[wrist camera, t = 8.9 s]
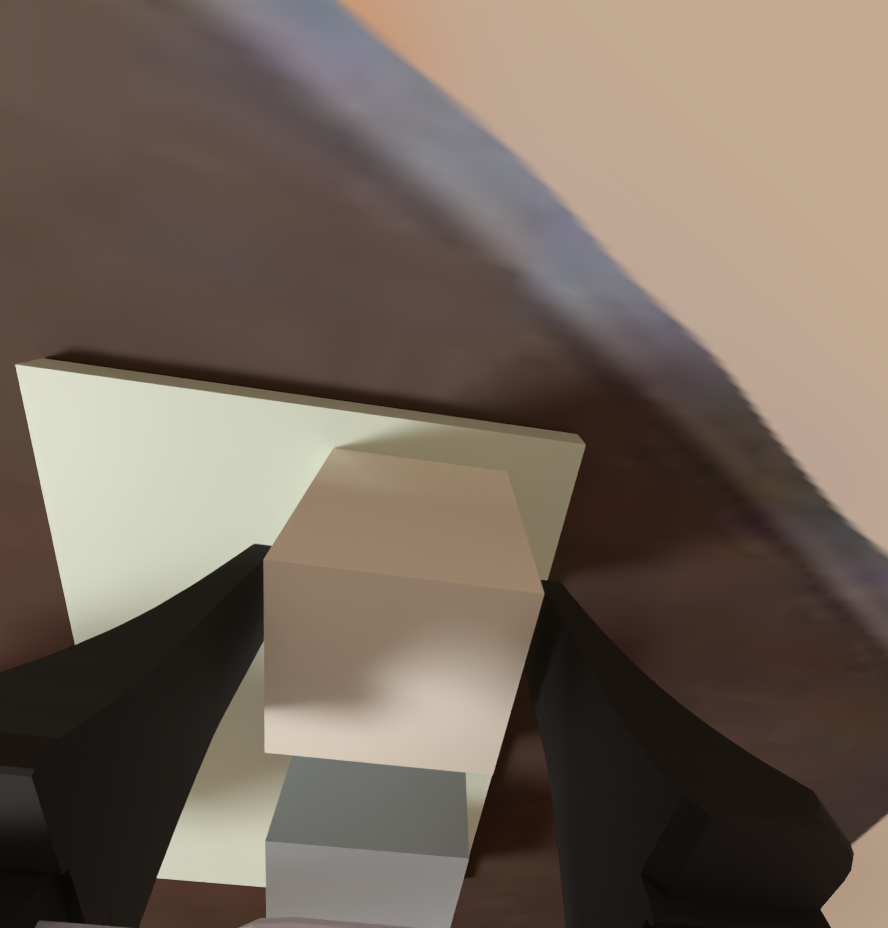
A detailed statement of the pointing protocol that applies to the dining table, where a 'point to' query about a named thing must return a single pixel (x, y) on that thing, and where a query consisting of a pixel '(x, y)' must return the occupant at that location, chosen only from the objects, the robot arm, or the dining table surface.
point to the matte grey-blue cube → (367, 844)
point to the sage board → (232, 534)
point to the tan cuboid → (398, 615)
